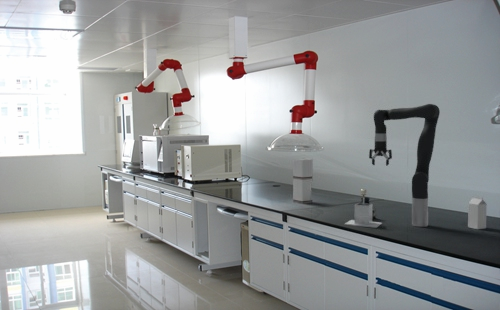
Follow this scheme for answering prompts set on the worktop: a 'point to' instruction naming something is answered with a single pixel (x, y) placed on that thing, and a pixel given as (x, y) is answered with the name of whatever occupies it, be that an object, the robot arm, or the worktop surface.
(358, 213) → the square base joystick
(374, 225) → the tray
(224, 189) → the worktop surface
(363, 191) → the plunger
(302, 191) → the grey banded column
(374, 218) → the scope
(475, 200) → the milk carton
